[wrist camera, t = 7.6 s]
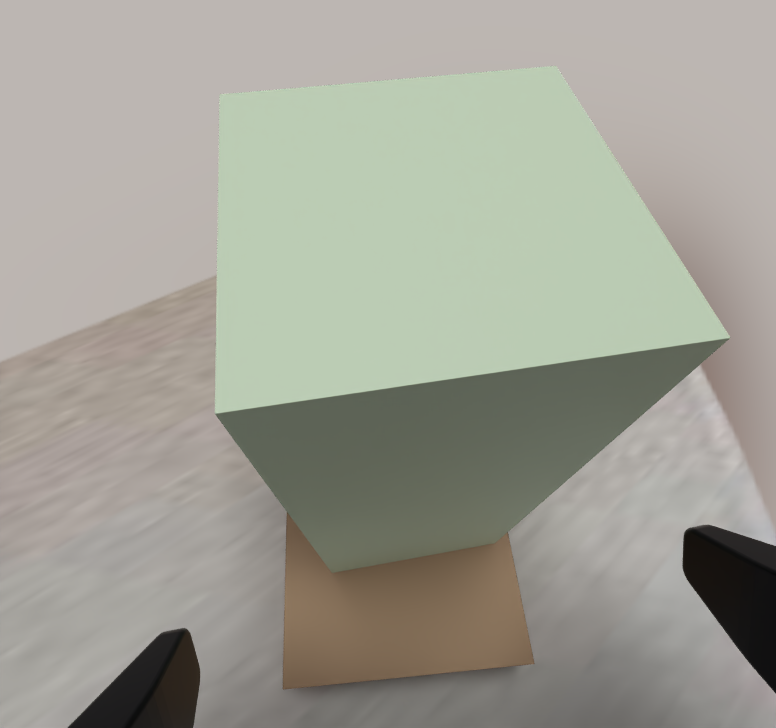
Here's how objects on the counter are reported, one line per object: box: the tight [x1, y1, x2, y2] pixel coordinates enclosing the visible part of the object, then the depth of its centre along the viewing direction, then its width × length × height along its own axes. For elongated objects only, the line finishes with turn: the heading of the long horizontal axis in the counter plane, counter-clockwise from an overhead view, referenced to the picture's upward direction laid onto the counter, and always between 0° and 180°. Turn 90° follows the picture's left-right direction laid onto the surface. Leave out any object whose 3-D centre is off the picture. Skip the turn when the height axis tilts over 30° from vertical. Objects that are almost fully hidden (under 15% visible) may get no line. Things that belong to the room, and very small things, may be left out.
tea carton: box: [215, 66, 730, 573], centre depth 12 cm, size 6×6×12 cm
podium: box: [283, 512, 534, 689], centre depth 17 cm, size 9×8×2 cm
